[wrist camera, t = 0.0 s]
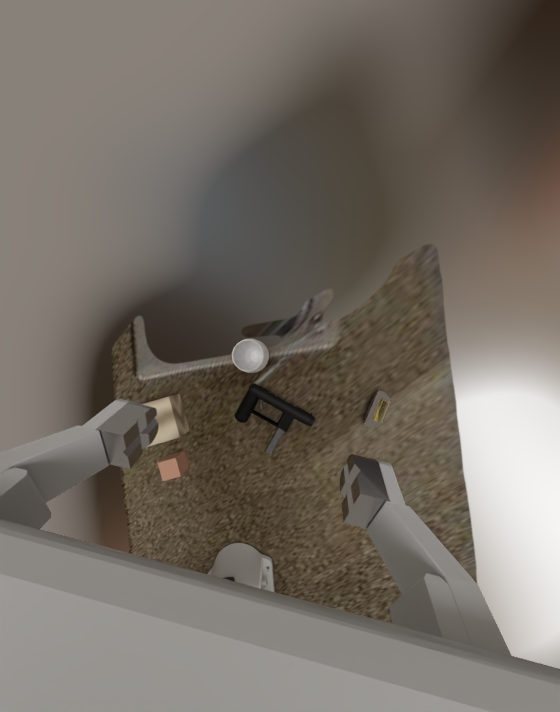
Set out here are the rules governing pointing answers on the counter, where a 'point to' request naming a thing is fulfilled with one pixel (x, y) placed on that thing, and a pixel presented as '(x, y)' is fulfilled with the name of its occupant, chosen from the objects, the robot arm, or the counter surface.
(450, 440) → the counter surface
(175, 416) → the birch box
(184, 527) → the counter surface
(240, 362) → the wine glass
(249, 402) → the black clamp
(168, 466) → the terracotta block
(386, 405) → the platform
